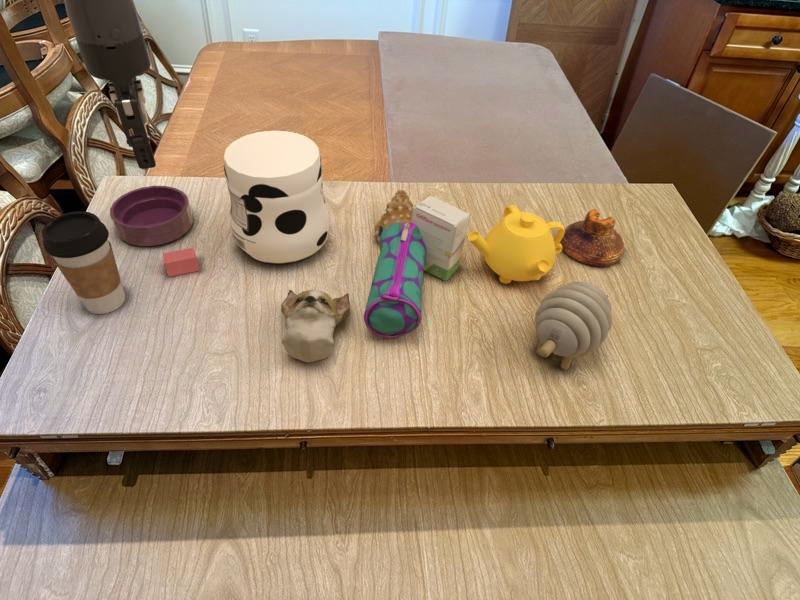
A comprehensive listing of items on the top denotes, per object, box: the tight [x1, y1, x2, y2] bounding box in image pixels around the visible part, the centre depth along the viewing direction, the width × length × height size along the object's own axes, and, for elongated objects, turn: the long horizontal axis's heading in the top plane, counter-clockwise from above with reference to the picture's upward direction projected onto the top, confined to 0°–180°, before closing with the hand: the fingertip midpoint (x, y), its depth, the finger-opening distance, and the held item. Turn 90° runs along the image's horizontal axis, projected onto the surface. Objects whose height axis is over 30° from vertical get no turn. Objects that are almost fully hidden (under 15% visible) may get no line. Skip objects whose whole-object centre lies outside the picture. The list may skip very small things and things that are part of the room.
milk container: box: [223, 130, 331, 265], centre depth 92 cm, size 17×17×18 cm
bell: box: [560, 208, 625, 267], centre depth 99 cm, size 12×12×7 cm
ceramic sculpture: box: [280, 289, 351, 363], centre depth 80 cm, size 11×9×15 cm
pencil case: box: [363, 222, 426, 339], centre depth 86 cm, size 21×9×10 cm, turn 175°
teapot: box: [467, 204, 566, 285], centre depth 92 cm, size 14×14×11 cm
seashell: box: [374, 189, 414, 244], centre depth 101 cm, size 9×8×10 cm
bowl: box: [109, 185, 194, 247], centre depth 98 cm, size 13×13×4 cm
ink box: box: [411, 195, 471, 282], centre depth 92 cm, size 9×5×12 cm, turn 55°
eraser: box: [162, 247, 200, 278], centre depth 91 cm, size 5×3×3 cm, turn 112°
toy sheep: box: [534, 281, 613, 370], centre depth 79 cm, size 11×17×11 cm, turn 145°
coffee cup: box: [41, 210, 126, 315], centre depth 80 cm, size 8×8×15 cm
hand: (145, 152), depth 76 cm, fingers open, 8 cm apart
